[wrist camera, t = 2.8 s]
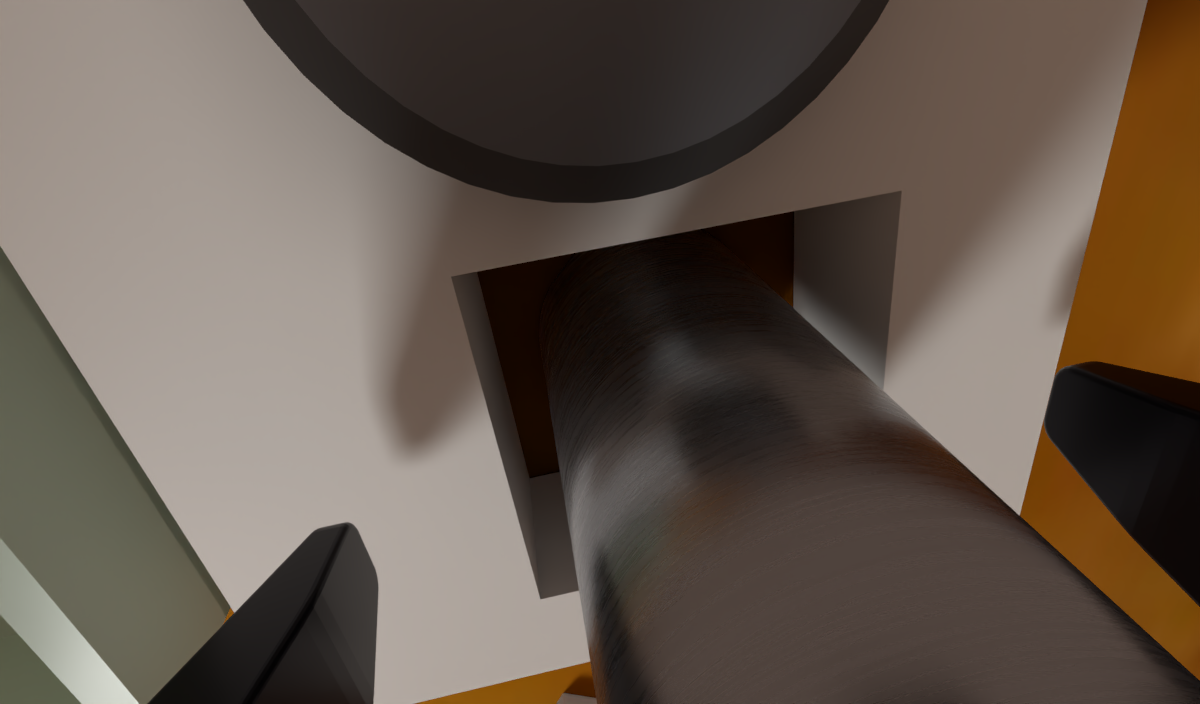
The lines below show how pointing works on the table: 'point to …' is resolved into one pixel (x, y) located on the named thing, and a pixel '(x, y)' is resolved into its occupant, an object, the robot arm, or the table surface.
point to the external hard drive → (576, 699)
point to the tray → (83, 537)
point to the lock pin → (793, 515)
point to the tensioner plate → (521, 246)
